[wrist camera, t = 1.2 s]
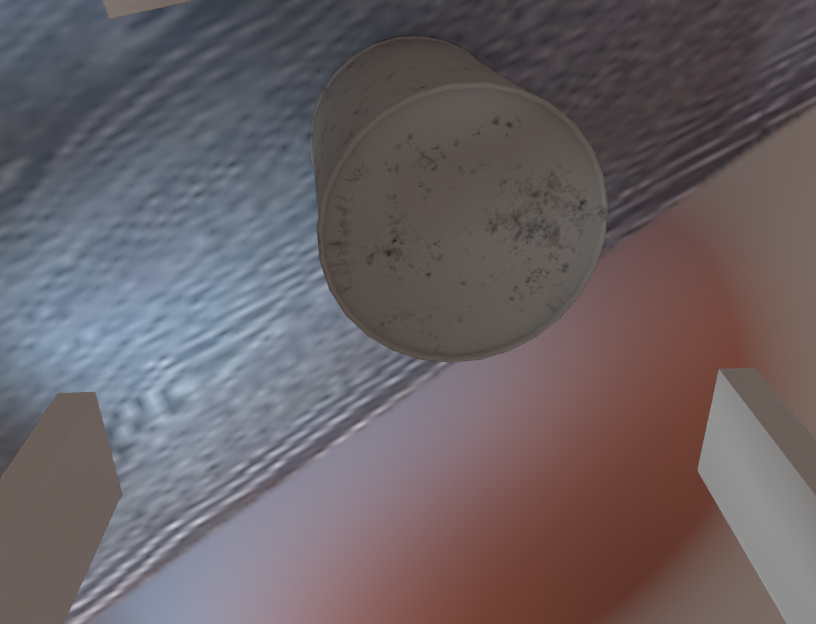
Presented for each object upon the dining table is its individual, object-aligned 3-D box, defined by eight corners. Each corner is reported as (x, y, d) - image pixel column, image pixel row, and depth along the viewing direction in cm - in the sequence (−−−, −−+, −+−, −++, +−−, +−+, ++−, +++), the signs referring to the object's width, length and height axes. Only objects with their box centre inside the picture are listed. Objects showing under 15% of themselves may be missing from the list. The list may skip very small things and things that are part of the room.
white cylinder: (443, 269, 38) (505, 401, 27) (273, 184, 34) (265, 294, 24) (548, 102, 35) (666, 175, 24) (372, -8, 31) (415, 17, 20)
